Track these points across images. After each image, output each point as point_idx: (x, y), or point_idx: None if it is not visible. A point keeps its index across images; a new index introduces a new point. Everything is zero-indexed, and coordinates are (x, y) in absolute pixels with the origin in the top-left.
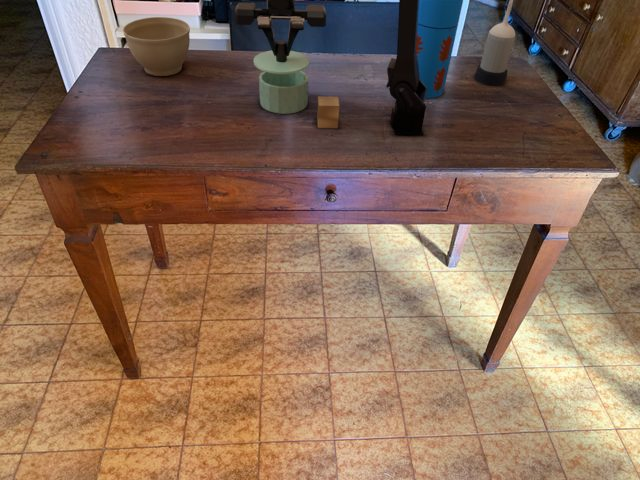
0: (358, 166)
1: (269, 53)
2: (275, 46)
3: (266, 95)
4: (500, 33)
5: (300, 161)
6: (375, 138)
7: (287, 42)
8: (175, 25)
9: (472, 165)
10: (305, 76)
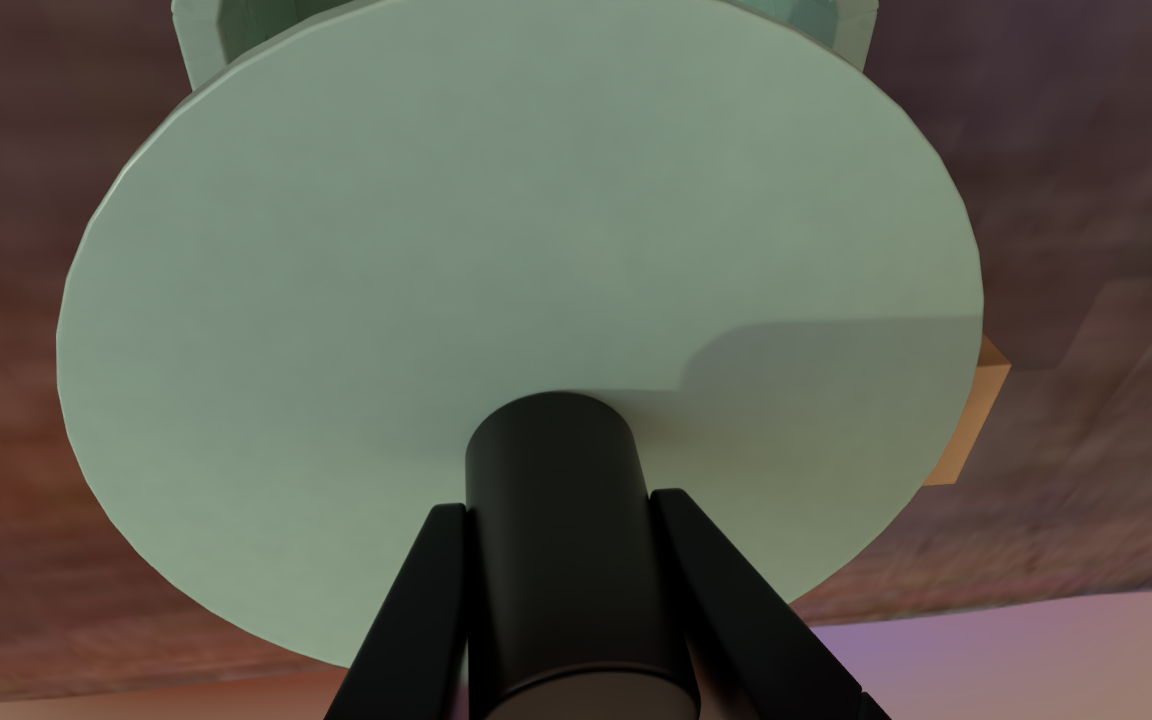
0: (850, 614)
1: (294, 219)
2: (464, 684)
3: None
4: None
5: None
6: (1039, 437)
7: (717, 670)
8: None
9: None
10: (841, 41)
